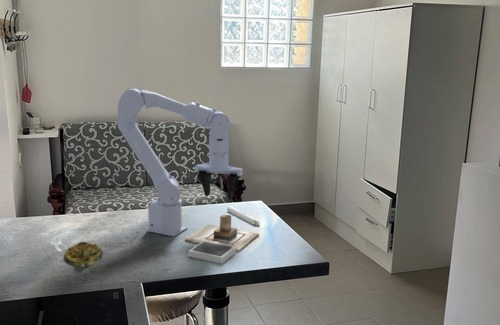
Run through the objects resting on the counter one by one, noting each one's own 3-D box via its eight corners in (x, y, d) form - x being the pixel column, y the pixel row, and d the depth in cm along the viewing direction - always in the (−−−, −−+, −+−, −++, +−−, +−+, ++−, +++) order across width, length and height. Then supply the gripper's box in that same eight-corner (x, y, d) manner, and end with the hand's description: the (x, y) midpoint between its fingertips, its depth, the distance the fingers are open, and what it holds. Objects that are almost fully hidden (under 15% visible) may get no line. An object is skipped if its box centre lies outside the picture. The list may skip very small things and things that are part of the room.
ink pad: (188, 256, 129) (188, 249, 129) (203, 246, 137) (203, 240, 136) (222, 263, 125) (222, 256, 125) (235, 252, 133) (235, 246, 132)
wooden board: (185, 240, 140) (185, 238, 140) (208, 226, 152) (208, 223, 152) (238, 251, 133) (239, 249, 133) (258, 235, 146) (258, 233, 146)
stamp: (213, 238, 141) (213, 217, 140) (221, 232, 145) (221, 212, 144) (229, 241, 139) (229, 220, 138) (236, 235, 143) (237, 215, 142)
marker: (262, 226, 154) (262, 219, 154) (256, 228, 153) (256, 220, 153) (231, 211, 169) (232, 204, 168) (226, 212, 168) (226, 205, 167)
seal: (63, 252, 133) (69, 274, 120) (60, 236, 132) (65, 256, 119) (98, 244, 137) (107, 264, 124) (95, 228, 136) (104, 246, 122)
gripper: (190, 153, 144) (191, 197, 147) (236, 156, 139) (236, 202, 142) (201, 148, 150) (201, 191, 153) (245, 152, 146) (244, 196, 148)
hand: (218, 196), depth 148 cm, fingers open, 7 cm apart
